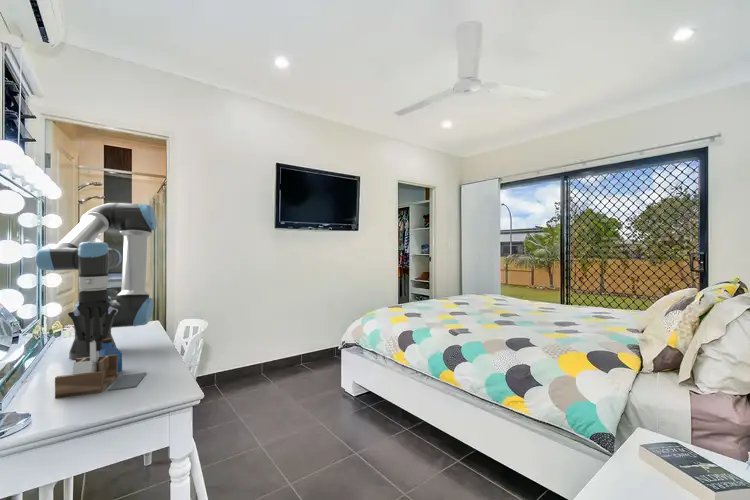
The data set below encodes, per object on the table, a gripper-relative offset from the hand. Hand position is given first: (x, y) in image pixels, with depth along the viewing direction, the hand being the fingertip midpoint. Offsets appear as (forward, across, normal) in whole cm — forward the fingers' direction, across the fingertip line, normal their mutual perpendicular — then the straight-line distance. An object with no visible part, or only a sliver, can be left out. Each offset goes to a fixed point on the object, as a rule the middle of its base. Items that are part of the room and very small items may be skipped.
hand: (94, 360), depth 112 cm
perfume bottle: (+7, +1, +8) cm, 11 cm away
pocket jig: (+7, 0, -5) cm, 8 cm away
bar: (+3, 0, -5) cm, 6 cm away
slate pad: (+7, +10, -5) cm, 13 cm away
